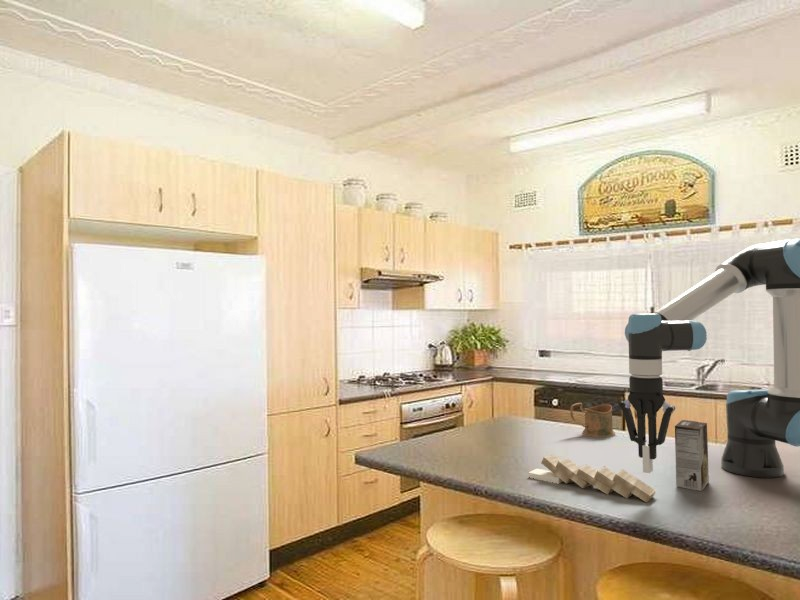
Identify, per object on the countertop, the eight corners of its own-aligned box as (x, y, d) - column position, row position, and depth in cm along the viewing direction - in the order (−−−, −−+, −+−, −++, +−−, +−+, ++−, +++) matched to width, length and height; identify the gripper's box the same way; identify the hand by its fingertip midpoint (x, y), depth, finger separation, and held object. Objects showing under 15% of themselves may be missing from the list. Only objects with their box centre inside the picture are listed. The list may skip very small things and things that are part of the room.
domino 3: (595, 478, 146) (567, 458, 152) (586, 482, 142) (558, 461, 149) (592, 484, 146) (565, 464, 152) (582, 488, 143) (555, 467, 149)
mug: (562, 433, 207) (561, 401, 207) (601, 429, 212) (601, 398, 212) (581, 440, 196) (580, 406, 196) (622, 435, 201) (621, 403, 201)
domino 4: (617, 483, 142) (586, 464, 148) (610, 488, 138) (578, 468, 144) (614, 489, 143) (583, 470, 148) (607, 494, 139) (575, 475, 144)
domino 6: (656, 490, 136) (622, 469, 141) (650, 495, 132) (615, 473, 138) (652, 497, 136) (619, 475, 142) (646, 502, 133) (612, 480, 138)
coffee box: (683, 478, 151) (681, 419, 151) (709, 482, 147) (708, 422, 147) (675, 486, 144) (673, 425, 144) (702, 491, 140) (701, 428, 140)
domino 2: (579, 475, 149) (554, 454, 156) (569, 477, 146) (543, 457, 152) (576, 481, 150) (551, 460, 156) (566, 483, 147) (541, 463, 153)
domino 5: (636, 486, 139) (604, 466, 144) (630, 491, 135) (597, 470, 141) (633, 493, 139) (601, 472, 145) (627, 498, 136) (594, 477, 141)
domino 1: (566, 474, 152) (536, 468, 158) (558, 478, 148) (528, 472, 154) (566, 481, 151) (537, 475, 157) (558, 486, 148) (528, 479, 154)
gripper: (678, 376, 134) (680, 472, 133) (623, 372, 142) (626, 463, 142) (669, 379, 128) (672, 480, 128) (613, 375, 137) (615, 470, 136)
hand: (647, 471), depth 135 cm, fingers closed
